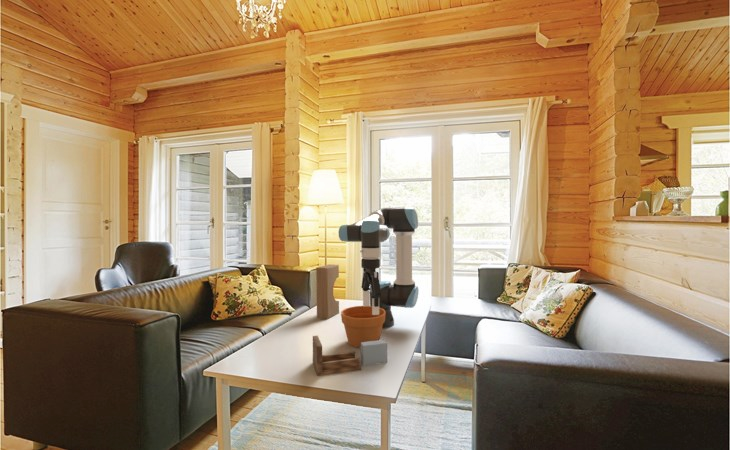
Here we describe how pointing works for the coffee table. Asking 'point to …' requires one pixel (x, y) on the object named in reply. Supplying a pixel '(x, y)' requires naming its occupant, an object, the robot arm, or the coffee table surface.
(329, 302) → the decorative block
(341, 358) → the track
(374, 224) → the robot arm
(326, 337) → the coffee table surface
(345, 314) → the flower pot
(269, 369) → the coffee table surface
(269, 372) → the coffee table surface
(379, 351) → the blue-gray rectangular block
